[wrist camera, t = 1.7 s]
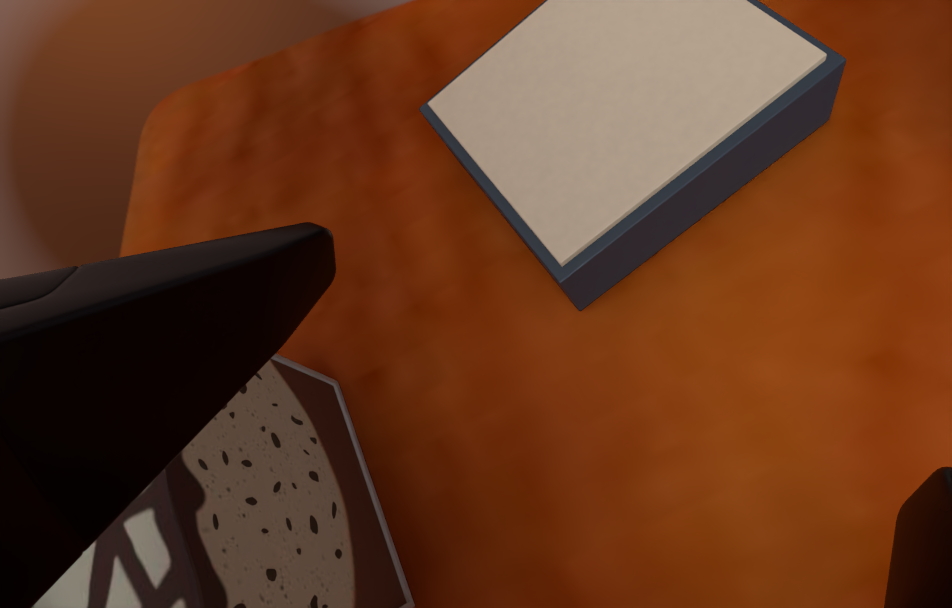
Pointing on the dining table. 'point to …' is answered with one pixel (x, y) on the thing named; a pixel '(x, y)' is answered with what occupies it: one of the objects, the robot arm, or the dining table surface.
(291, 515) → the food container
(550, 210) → the stand
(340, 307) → the dining table surface
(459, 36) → the dining table surface
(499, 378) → the dining table surface
